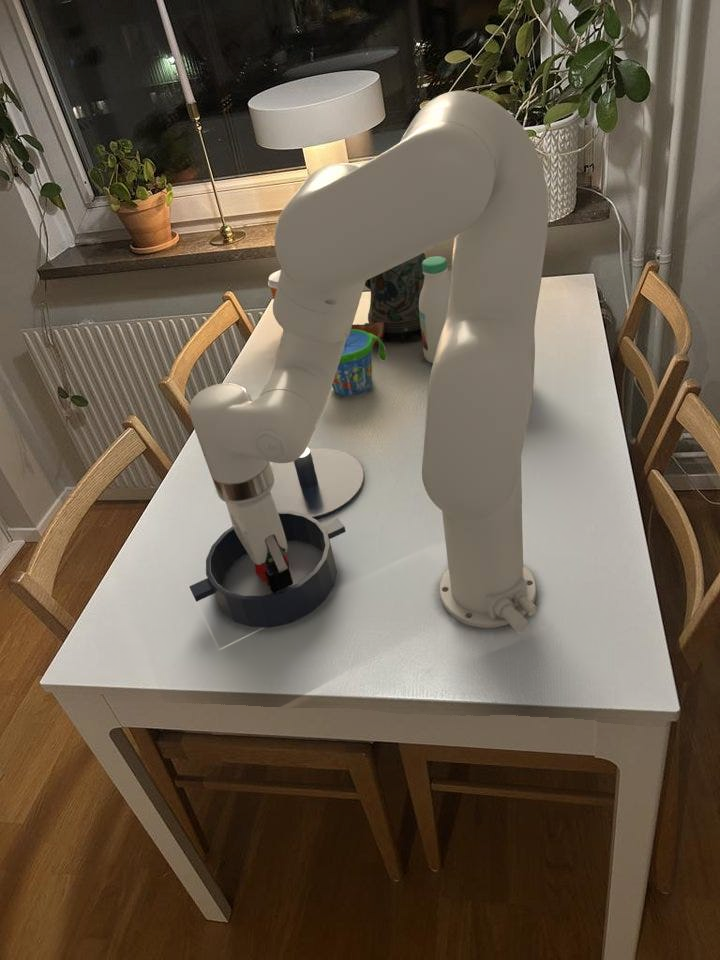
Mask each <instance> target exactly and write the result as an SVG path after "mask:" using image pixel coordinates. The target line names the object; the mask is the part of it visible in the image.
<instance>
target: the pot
mask: <svg viewBox="0 0 720 960" xmlns="http://www.w3.org/2000/svg"><path fill="white" fill-rule="evenodd" d="M277 512H278V515H279V518H280V521H281V524H282V527H283V530H284V534H285V537H286V541H287V542H294V541H297V542H300V543H305V544H309V545H311V546H313V547H314V548H317V549H318V550H319V551H322V556H321V559H320V560H319V562H318V563H317V565H316V566H315V567H314V569H313V570H312V571H311V572H310V573H309V574H308V575H307V576H305V577H304V578H303V579H301V581H299V582H298V583H295V584H292V585H291V586H289V587H287V588H285V589H282V590H280V591H278V592H276V593H268V594H264V595H244V594H243V595H242V594H239V593H235V592H232V591H228V590H227V589H225V587H223V586H222V585H223V583H224V580H225V578H226V575H227V573H228V572H229V571H230V570H231V568H232V567H233V566H234V564H235V563H236V562H237V561H238V560H239V559H242V558H243V557H244V556H245V555H246V554H248V553H247V551H246V550H245V548H244V546H243V545H242V543H241V541H240V540H239V538H238V536H237V534H236V532H235V530H234V528H233V525H232V526H231V527H229V528H228V529H227V530H225V531H224V532H223V533H221V535H220V536H219V537H218V538H217V539H216V541H215V542H213V544H212V545H211V547H210V549H209V551H208V554H207V556H206V559H205V575H206V578H205V579H203V580H200V581H198V582H196V583H193V584H191V585H189V590H190V592H191V593H192V597H193V599H194V600H195V602H197V603H198V602H199V601H201V600H203V599H205V598H207V597H210V596H213V595H214V597H215V600H216V602H217V604H218V606H219V608H220V610H221V612H222V613H223V614H224V615H226V617H228V618H229V619H230V620H231V621H233V622H235V623H238V624H241V625H244V626H247V627H251V628H262V629H263V628H264V629H265V628H275V627H279V626H284V625H287V624H291V623H294V622H296V621H298V620H301V619H302V618H305V617H306V616H308V615H310V614H311V613H312V612H314V611H315V610H316V609H318V608H319V607H320V606H321V605H322V604H323V603H324V602H325V601H326V599H327V598H328V597H329V595H330V593H331V592H332V590H333V588H334V587H335V583H336V579H337V575H338V571H337V565H336V561H335V557H334V553H333V548H332V544H331V539H334V538H336V537H337V536H340V535H342V534H344V533H346V531H347V530H346V527H345V526H344V524H343V523H342V521H340V519H339V518H338V517H337V518H334V519H332V520H330V521H327V522H325V523H324V524H322V523H321V522H320V521H319V519H314V518H312V517H311V516H309V515H307V514H304V513H299V512H295V511H277Z"/></svg>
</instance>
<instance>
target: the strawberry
mask: <svg viewBox="0 0 720 960" xmlns="http://www.w3.org/2000/svg"><path fill="white" fill-rule="evenodd" d="M268 551H269V550H268ZM283 554H284V557H285V560H286V562H287V564H288V567H289V568H290V563H289V559H288V557H287V555H286V554H285V552H283ZM268 561H269V564H270V565H272V564H274V562H273V559H272V558H269V559H268ZM254 571H255V574H256V576H257V577H258V578H259V579H260V580H261V581H262V582H265V583H266V585H267V587H270V586H269V583H268V580H267V577H266V574H265V572H266V571H267V570H266V567H265V565H264V563H262V564H261V565H257V564H255V563H254Z"/></svg>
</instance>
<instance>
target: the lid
mask: <svg viewBox="0 0 720 960" xmlns="http://www.w3.org/2000/svg"><path fill="white" fill-rule="evenodd" d="M270 465H271V468H272V472H273V475H274V485H273V487H272V488H271V490H270V491H271V494H272V497H273V500H274V502H275V506H276V509H277V511H295V512H299V513H304V514H307V515H309V516H311V517H312V518H314V519H316V520H319V519H322V518H324V517H328V516H330V515H333V514H335V513H337V512H339V511H341V510H342V509H344V508H346V507H347V506H348V505H349V504H351V503H352V502H353V501H354V500H355V499H356V497H357V496H358V495H359V494H360V493H361V491H362V488H363V486H364V483H365V472H364V467H363V465H362V464H361V462H360V461H359V460H358V459H357V458H356V457H355V456H353V455H352V454H350V453H349V452H346V451H343V450H340V449H335V448H328V447H327V448H324V447H318V448H317V447H316V448H309V447H307V448H306V450H305V452H304V453H303V454H302V455H301V456H300V457H299V458H298V459H297V460H295V461H292V462H289V463H274V462H272V463H270Z"/></svg>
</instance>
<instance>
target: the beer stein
mask: <svg viewBox="0 0 720 960" xmlns="http://www.w3.org/2000/svg"><path fill="white" fill-rule="evenodd" d="M425 259H427V257H426V252H424V253H422V254H420V255H418V256H416V257H414V258H412V259H410V260H408V261H406V262H404V263H402V264H400V265H398V266H395V267H393V268H391V269H389V270H387V271H385V272H383V273H381V274H379V275H377V276H374V277H372V278H370V279H368V280H366V283H365V286H364V287H366V288H367V289H368V290H370V303H369V309H368V314H367V323H376V322H384V323H385V333H384V336H383V338H382V339H381V341H382V342H387V343H399V344H400V343H401V344H402V343H403V344H404V343H411V342H416V341H419V340H422V334H421V325H420V315H419V297H420V293H421V290H422V288H423V284H424V279H425V275H424V274H423V269H422V262H423V261H424V260H425Z"/></svg>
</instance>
